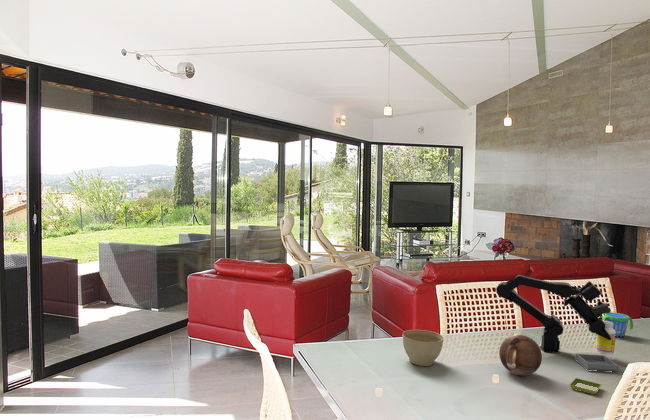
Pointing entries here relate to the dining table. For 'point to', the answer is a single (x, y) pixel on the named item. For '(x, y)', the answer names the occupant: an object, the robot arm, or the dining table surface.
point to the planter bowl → (422, 346)
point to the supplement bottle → (606, 340)
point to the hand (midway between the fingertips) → (609, 337)
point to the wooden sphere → (520, 355)
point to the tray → (596, 362)
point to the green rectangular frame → (585, 384)
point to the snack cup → (618, 322)
